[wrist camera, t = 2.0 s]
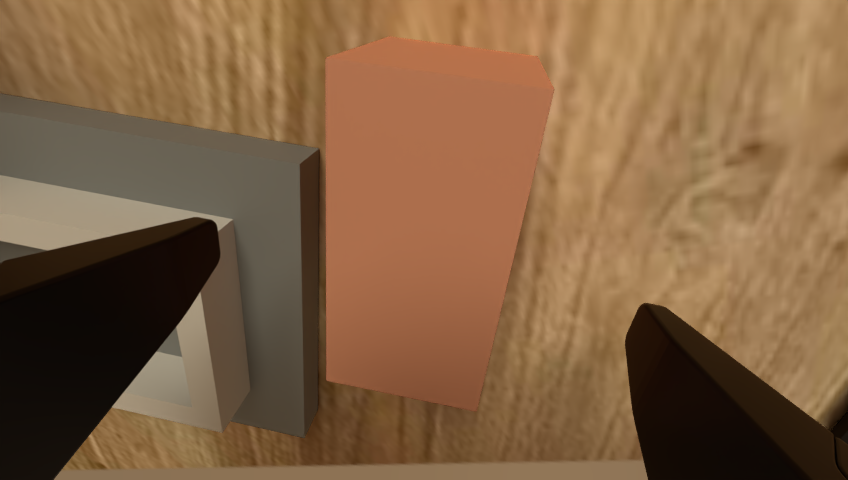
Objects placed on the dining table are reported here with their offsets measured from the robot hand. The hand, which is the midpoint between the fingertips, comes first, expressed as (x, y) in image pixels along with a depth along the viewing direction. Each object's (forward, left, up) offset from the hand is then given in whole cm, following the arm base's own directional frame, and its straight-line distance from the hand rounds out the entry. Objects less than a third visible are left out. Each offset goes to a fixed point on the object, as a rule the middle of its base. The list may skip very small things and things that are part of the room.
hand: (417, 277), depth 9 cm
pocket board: (+12, +5, -5) cm, 14 cm away
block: (0, 0, -5) cm, 5 cm away
